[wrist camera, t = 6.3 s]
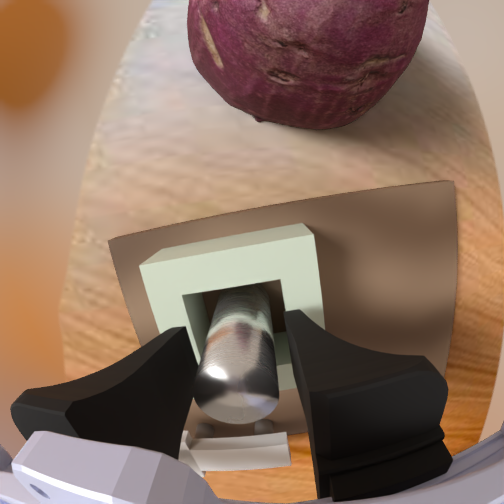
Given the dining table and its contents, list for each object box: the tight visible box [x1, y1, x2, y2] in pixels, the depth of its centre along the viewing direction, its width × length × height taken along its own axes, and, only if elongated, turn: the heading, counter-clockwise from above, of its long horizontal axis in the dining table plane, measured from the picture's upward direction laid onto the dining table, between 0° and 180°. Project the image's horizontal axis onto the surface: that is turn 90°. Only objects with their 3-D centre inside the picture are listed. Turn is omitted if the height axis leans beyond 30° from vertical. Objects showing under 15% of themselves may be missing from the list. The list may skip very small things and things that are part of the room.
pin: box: [192, 283, 279, 424], centre depth 11 cm, size 3×3×7 cm
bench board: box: [108, 180, 458, 477], centre depth 14 cm, size 16×19×4 cm
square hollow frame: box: [139, 223, 325, 399], centre depth 13 cm, size 7×7×3 cm
